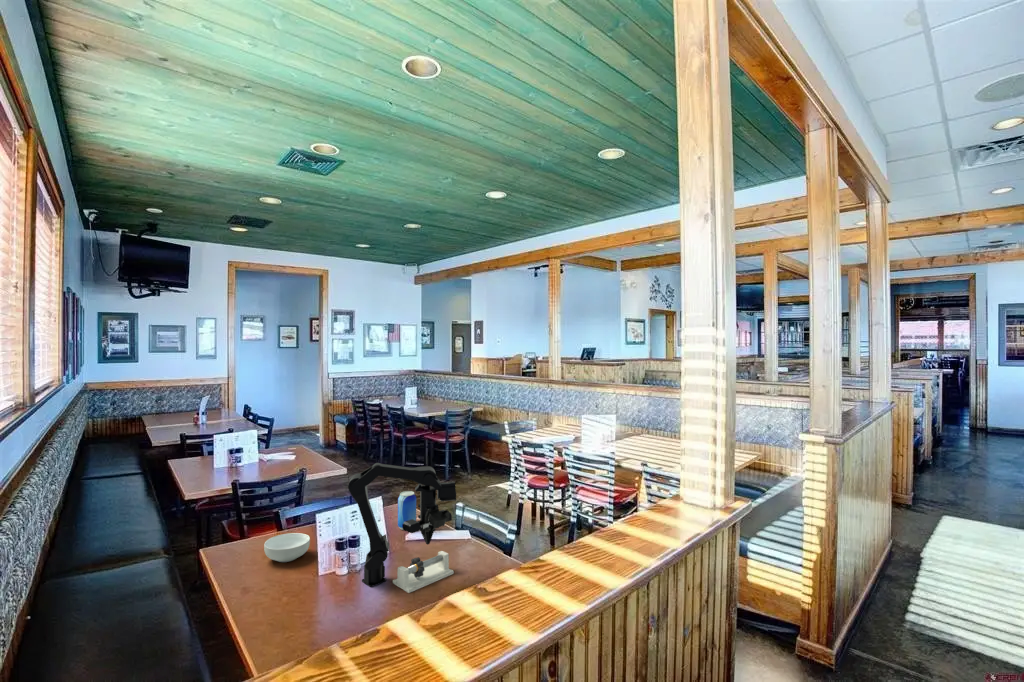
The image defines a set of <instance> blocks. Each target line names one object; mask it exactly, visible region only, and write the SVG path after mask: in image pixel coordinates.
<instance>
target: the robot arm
mask: <svg viewBox="0 0 1024 682" xmlns="http://www.w3.org/2000/svg"><path fill="white" fill-rule="evenodd" d="M378 477H385V478H394V479H401V480H408V481H413V482H415V483H417V486H415V489H414V490H415V491H414V492H416V493H417V492H418V493H420V495H419V496H420V497H419V498H420V499H419V500H420V501H419V502H420V503H418V504H417V507H418V508H419V514H418V515H417V518H418V519H419V520H416V521H415V520H413V519H411V520H408V521H405V522H404V523H403V530H402V531H406V532H408V533H410V534H415V533H418V532H420V533H421V535H422V538H423V539H424V542H425V544H426V545H430V544H431V541H432V538H433V535H434V532H435V531H436V529H438V528H440V527H444V526H445V525H446V523H447V522H450V521H453V515H452V513H451V512H450V511H449V510H448V509H446V510H445V509H442V510H440V509H439V505H438V504H437V500H438V499H439V501H440V502H451V501H452V502H453V501H454V502H455V501H457V492H456V491H457V488H456V482H455V481H449V482H441V481H440V479H439V478H438V477H437V474H436V470H435V469H434V467H432V466H431V465H429V466H428V465H427V466H417V467H410V466H409V467H408V466H400V465H392V464H386V463H385V464H384V463H380V462H376V463H374V464H373V465H371V466H370V467H368V468H367V469H365V470H363V471H362V472H361V473H356V474H354V475H352V476H351V478H350V479H349V482H348V485H347V489H348V491H349V494H350V495H351V497H352V498H353V500H354V501H355V502H356V503H357V506H358V510H359V512H360V515H361V518H362V519H361V520H362V521H363V524H364V527H365V531H366V533H367V537H368V539H369V540H368V541H369V551H368V553H367V554H366V555H365V563H364V566H363V579H361V582H362V583H364V584H365V585H367V586H368V587H374V586H377V585H380V584H382V583H385V582H386V581H387V578H385V575H386V572H385V571H386V566H385V563H384V562H385V561H386V560H387V558H388V555H389V551H390V543H389V542H388V538H387V534H384V535H383V534H381V532H380V529H379V526H378V523H377V520H376V516H375V515H374V512H373V508H372V506H371V503H370V499H369V492H368V486H369V484H371V483H372V482H373V481H374V480H376V479H377V478H378Z"/></svg>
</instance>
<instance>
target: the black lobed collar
mask: <svg viewBox="0 0 1024 682" xmlns="http://www.w3.org/2000/svg"><path fill="white" fill-rule="evenodd" d="M423 561H424V560H423ZM423 561H422V560H421V558H420V557H413V558H412V559H411V560H410V564H409V565H410V566H412V565H414V564H417V566H418V567H419V568H418V571H417V572H414V573H412V574H414V576H415V577H420V576H423V572H424V567H423ZM410 566H409V567H410ZM421 566H422V567H421Z"/></svg>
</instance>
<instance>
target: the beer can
mask: <svg viewBox="0 0 1024 682" xmlns="http://www.w3.org/2000/svg"><path fill="white" fill-rule="evenodd" d="M411 519H413V520H415V521H417V496H416V494H415V491H411V490H405V491H402V492H400V493H399V496H398V498H397V527H398V528H399V529H400V530H402V531H404V530H403V523H404V522H405V521H408V520H411Z"/></svg>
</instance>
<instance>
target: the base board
mask: <svg viewBox="0 0 1024 682" xmlns="http://www.w3.org/2000/svg"><path fill="white" fill-rule="evenodd" d="M438 555H442V556H443V561H441V562H439V563H436V564H434V565H431V566H429V567H426V568H424V572H423V576H420V577H415V576H414V574H412V573H411V574H409V569H407V567H405V566H403V565H402V566H398V567H397V574H396V575H397V578H396V579H393V580H392V584H393V585H395V586H397V587H398V588H400V589H402V590H403V591H405V593H408V594H410V593H412V592H414V591H417V590H419V589H422V588H423V587H426V586H428V585H430V584H433V583H435V582H437V581H440V580H442V579H445V578H447V577H450V576H451V575H453V574H454V573H455V572H454V570H453V569H450V568H449V567H450V564H449V562H450V560H449V558H450V557H449V556H450V555H449V553H448V552H446V551H443V550H440V551H438V552H437V556H438Z"/></svg>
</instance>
